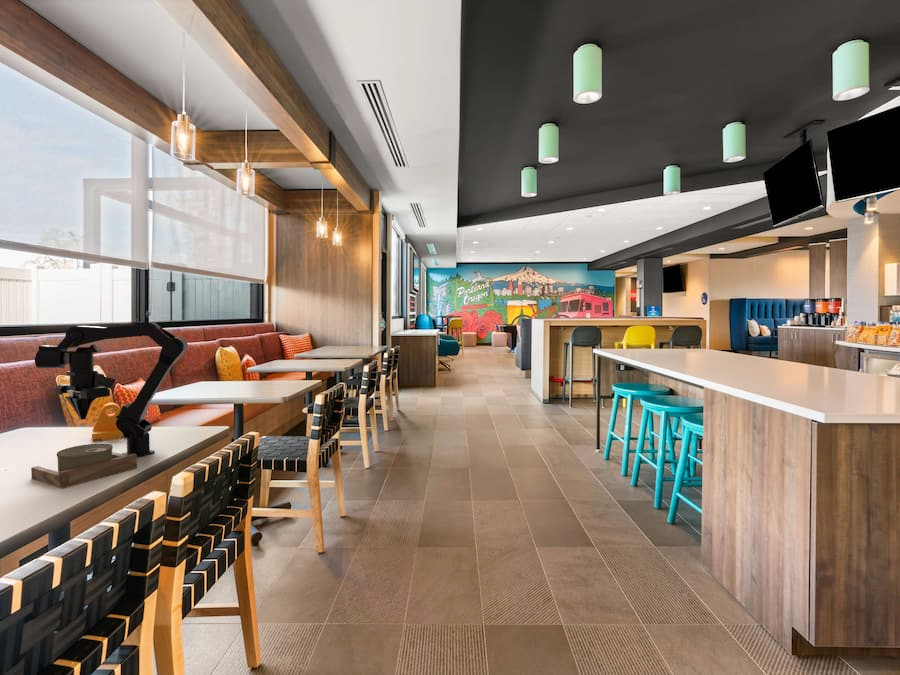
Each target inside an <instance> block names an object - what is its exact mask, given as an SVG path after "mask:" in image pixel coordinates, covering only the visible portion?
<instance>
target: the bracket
mask: <svg viewBox="0 0 900 675" xmlns="http://www.w3.org/2000/svg"><path fill="white" fill-rule="evenodd" d="M111 408H112V409H114V410H115V412H114V413H107V410H108V409H111ZM121 409H122V408H121V407H120V406H119V404H118V403H116V402H107V403H105V404H104V405H103V406H102V407H101V410H100V413H99V414H98V417H97V419H96V422H95V424H94V426H93V428H92V432H91V439H92V440H99V439H101V441H111V440H119V439H122V437H124V435H123V433H122V432H121V431H120V430H119V429H118V428H117V426H116V420H117V419H118V418H115V417H116V416H118V415H119V413H120V411H121Z"/></svg>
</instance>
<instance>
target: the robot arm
mask: <svg viewBox="0 0 900 675" xmlns="http://www.w3.org/2000/svg"><path fill="white" fill-rule="evenodd" d="M64 336H65V337H63V339H62V340H61V341H60V343H59V344H58V345H45V344H44V345H39V346H38V349H37V352H36V354H35V356H34V365H35V366H36V368H37V369H39V370H40V369H41V370H42V369H64V368H65V366H66V365H68V368H69V369H68V371H65V372H66V373H65V375H66V376H69V383H65V384H64V383H63V384H58V385H56V386H55V387H54V395H57V396H60V395H63V394H67V396H65V397H64V398H65V399H66V400H67V402H68V403H69V405H70V406H71V407H72V408H73V410H74V412H75V413H76V415H77V416H78V418H79V419H80V420H81V421H82V420H86V419H87V416H88V413H89V411H90V408H91V405H92V403H93V401H95V400H96V399H98V398H99V399H100V398H106V397H111V390H113V389H114V386H115V383H116V381H117V378H112V377H108V376H105V374H102V373H99V372H98V370H94V353H95V354H96V353H101V352H102V349H101V348H99V346H97V345H96V344H95V343H98V342H102V341H105V340H111V339H123V338H124V339H126V338H136V337H146V336H147V337H149V338H150V339H151V340H152V341H154V342H155V344H157V345H158V346H159V347H161V350H160V352H159V356H158V359H157V360H158V361H157V363H156V364H155V366H154V368H153V369H152V371H150V374H149V376H148V378H147V379H146V381H144V382H145V383H144V384H143V386H142V387H141V388H140V391H139V392H138V393H137V396H136V397H135V399H134V401H133V402H132V403H131V402H128V403H126V404H124V405H122V407H121V408H120V409H121V411H120V413H119V415H118V416H116V417H115V418H118V419H117V420H116V426H117V428H118V429H119V430H120V431H121V432H122V433H123V435H124V436H123V437H124V439H126V452H123V453H121V454H123V455H130V454H137V458H138V457H141V456H146V455H150V454H155V450H152V449H150V447H151V446H150V433H149V432H151V430H152V428H153V424H152V423H151V422H149V421H148V420H147V419H146V416H147V414H148V409H149V405H150V403H151V401H152V400H153V398H154V397H155V396H156V393H157V391H158V390H159V389H160V387H161V385H162V383H163V382H164V380H165V378H166V377H167V375H168V374H169V372H170V370H171V368H172V367H174V365H175V364H176V363H177V362H178V361H179V360H180V359H181V358H182V356H184V354H185V353H186V352H187V350H188V349H189V344H188V342H187V340H186V339H185V338H183V337H179V336H176V335H174V334H173V333H171V332H169V331H167V330H166V329H164V328H162V327H161V326H160V325H159V324H158V323H155V322H149V323H145V324H144V323H142V324H133V325H121V326H109V327H108V326H107V327H106V326H105V327H104V326H103V327H102V326H92V325H90V326H89V325H77V326H76V325H73V326H70V327H69V328H68V329H67V330H66V332H65V335H64ZM84 345H90V346H84ZM82 346H83V347H82ZM69 349H75V350H69Z"/></svg>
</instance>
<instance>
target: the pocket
mask: <svg viewBox="0 0 900 675" xmlns="http://www.w3.org/2000/svg"><path fill="white" fill-rule="evenodd" d="M137 468H138V457H137V454H130V455H123V454H122V453H118V452H113V451H112V459H109V460H105V461H101V462H97V463H93V464H89V465H85V466H81V467H77V468H73V469H68V470H64V471H60V472H58V470H52V469H49V468H45V467H44V466H43V467H42V466H39V465H37V466H33V467H31V470H30V471H31V472H30V473H31V479H32V480H34V481H38V482H41V483H45V484H47V485H50V486H52V487H53V486H54V487H56V488H60V489H66V488H69V487H72V486H76V485H77V486H78V485H80V484H83V483H88V482H91V481H94V480H98V479H102V478H105V477H109V476H113V475H115V474H116V475H117V474H119V473H120V474H121V473H124V472H128V471H131V470H135V469H137Z"/></svg>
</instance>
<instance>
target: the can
mask: <svg viewBox="0 0 900 675" xmlns="http://www.w3.org/2000/svg"><path fill="white" fill-rule="evenodd" d="M113 448H114V446H113V445H112V444H110V443H89V444H82V445H75V446H71V447H67V448H64V449H61V450H59V451H57V453H56V456H57V472H60V471H64V470H68V469H73V468H77V467H81V466H85V465H89V464H93V463H97V462H101V461H105V460H109V459H112V452H113Z"/></svg>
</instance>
